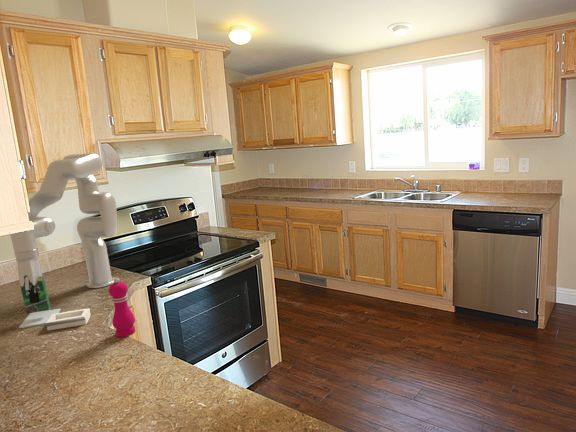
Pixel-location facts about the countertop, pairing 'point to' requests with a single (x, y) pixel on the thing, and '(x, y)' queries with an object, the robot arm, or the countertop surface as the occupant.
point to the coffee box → (43, 297)
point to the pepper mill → (121, 309)
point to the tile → (38, 318)
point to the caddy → (68, 319)
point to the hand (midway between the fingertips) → (36, 300)
